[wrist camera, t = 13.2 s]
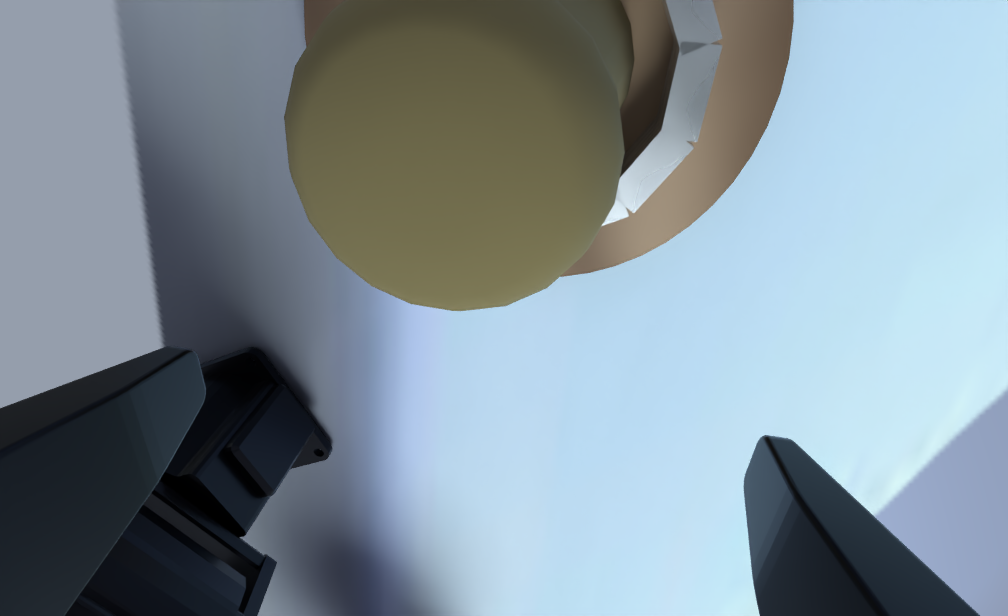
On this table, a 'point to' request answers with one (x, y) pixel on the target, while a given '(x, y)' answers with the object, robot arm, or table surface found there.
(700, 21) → the socket ring
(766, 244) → the table surface
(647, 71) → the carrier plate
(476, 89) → the cork
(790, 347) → the table surface
